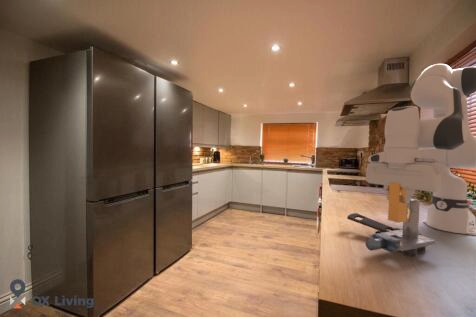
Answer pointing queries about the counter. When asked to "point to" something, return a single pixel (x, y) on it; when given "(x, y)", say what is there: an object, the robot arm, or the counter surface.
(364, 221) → the zipper pull
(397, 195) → the orange wooden block
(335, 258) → the counter surface
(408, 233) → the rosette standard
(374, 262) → the counter surface
